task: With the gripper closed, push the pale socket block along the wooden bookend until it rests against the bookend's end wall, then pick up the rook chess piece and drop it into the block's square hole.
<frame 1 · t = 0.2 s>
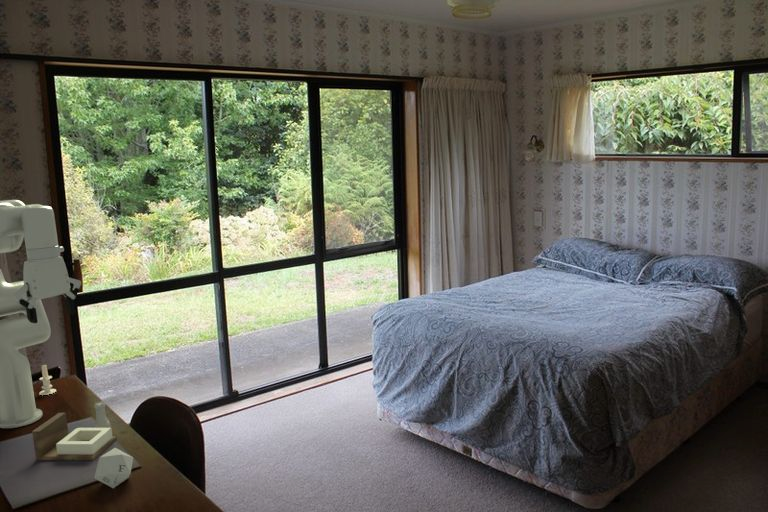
hand: (52, 318, 173), 37 cm above the table, tool pointing down, fingers open, 9 cm apart
wooden bookend: (77, 449, 178), on the table
socket block: (85, 440, 178), point 3 cm above the table, slide at 0.0 cm
rook chess piece: (102, 429, 191), on the table
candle: (47, 393, 222), on the table
die: (116, 483, 159), on the table
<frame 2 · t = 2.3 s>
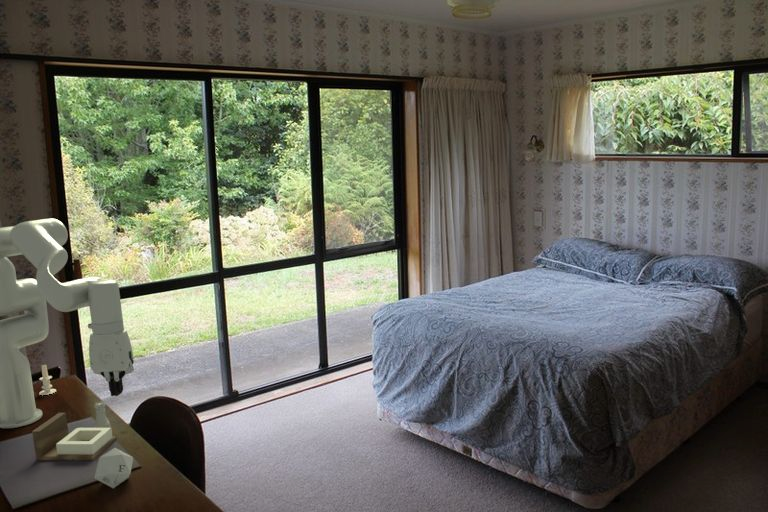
hand: (116, 394, 174), 16 cm above the table, tool pointing down, fingers closed
nothing on the table moved.
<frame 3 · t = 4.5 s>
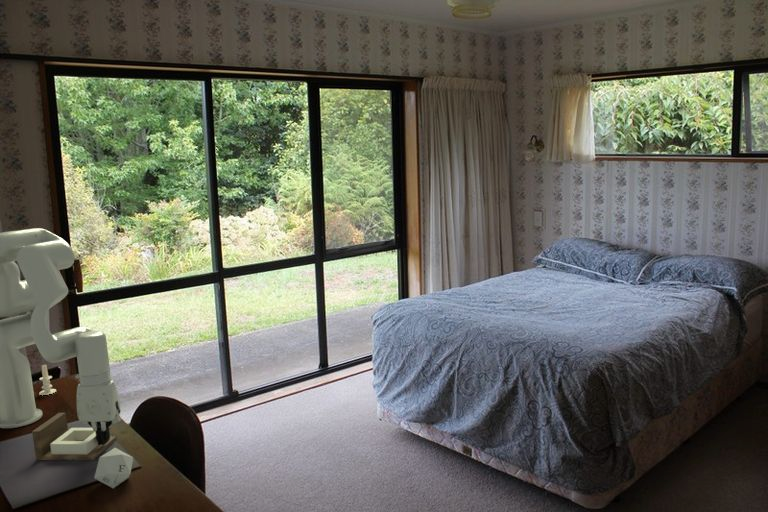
hand: (103, 442, 177), 2 cm above the table, tool pointing down, fingers closed
socket block: (79, 440, 178), point 3 cm above the table, slide at 1.7 cm, touching gripper
everything else where it was.
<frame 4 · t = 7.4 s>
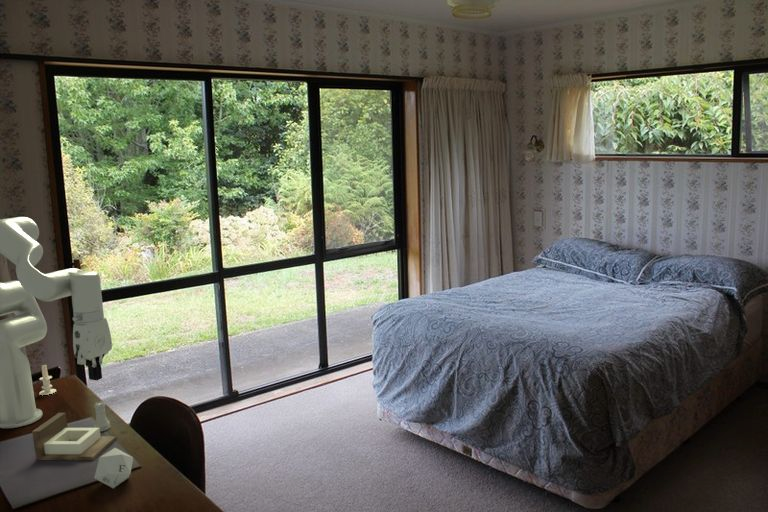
hand: (95, 378, 185), 16 cm above the table, tool pointing down, fingers closed
socket block: (72, 440, 178), point 3 cm above the table, slide at 3.5 cm, touching wooden bookend
everything else where it was.
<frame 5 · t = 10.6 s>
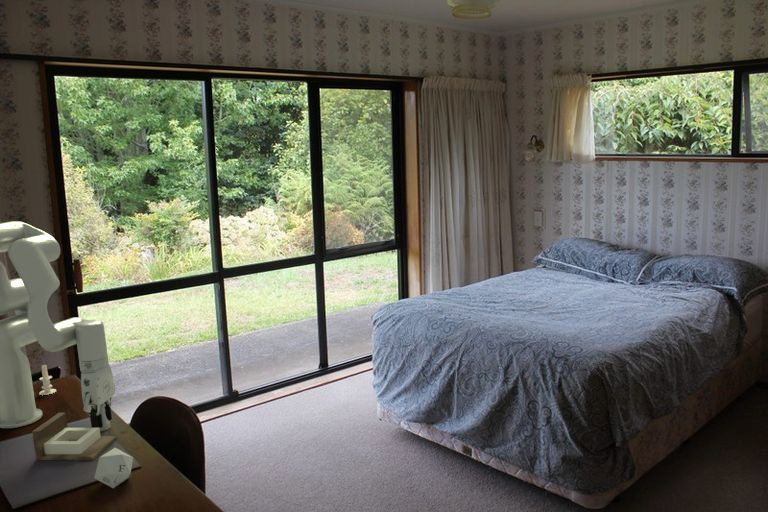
hand: (101, 423, 191), 2 cm above the table, tool pointing down, fingers closed on rook chess piece, 4 cm apart
rook chess piece: (102, 429, 191), on the table, touching gripper
everything else where it was.
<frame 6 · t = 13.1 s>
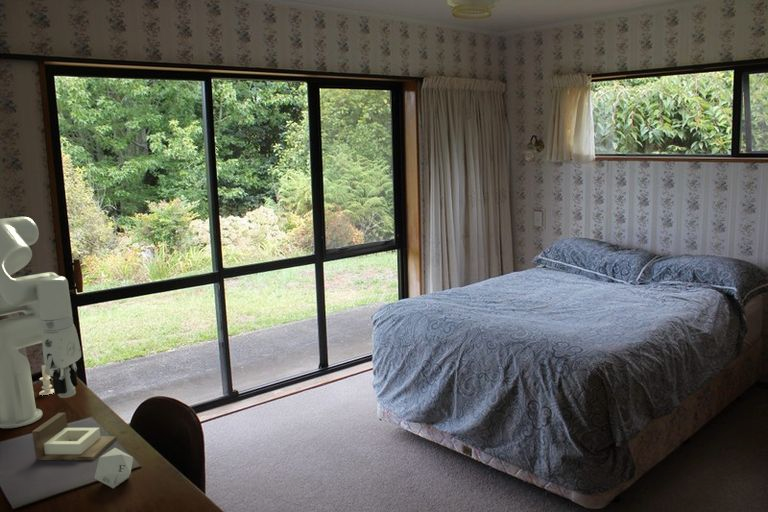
hand: (66, 388, 176), 17 cm above the table, tool pointing down, fingers closed on rook chess piece, 4 cm apart
rook chess piece: (67, 395, 176), point 15 cm above the table, touching gripper
everything else where it was.
when the fingers open (4 cm above the table, at t = 15.9 s): rook chess piece drops 1 cm, resting on wooden bookend.
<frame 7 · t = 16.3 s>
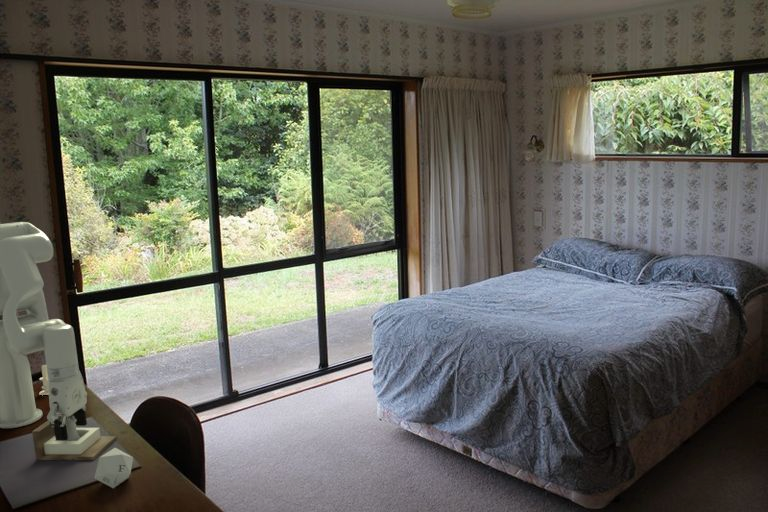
hand: (71, 432, 178), 5 cm above the table, tool pointing down, fingers open, 8 cm apart
rook chess piece: (73, 446, 178), point 1 cm above the table, touching wooden bookend
everything else where it was.
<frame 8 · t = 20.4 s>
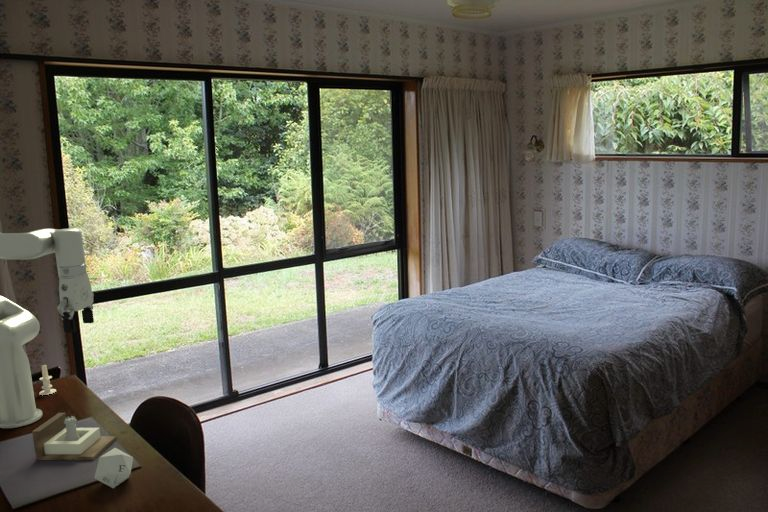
hand: (79, 327, 195), 28 cm above the table, tool pointing down, fingers open, 9 cm apart
nothing on the table moved.
at the end: socket block slide at 3.5 cm; rook chess piece 0.1 cm from the target spot on the wooden bookend, point 0.8 cm above the wooden bookend's base; rook chess piece tilted 0° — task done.
